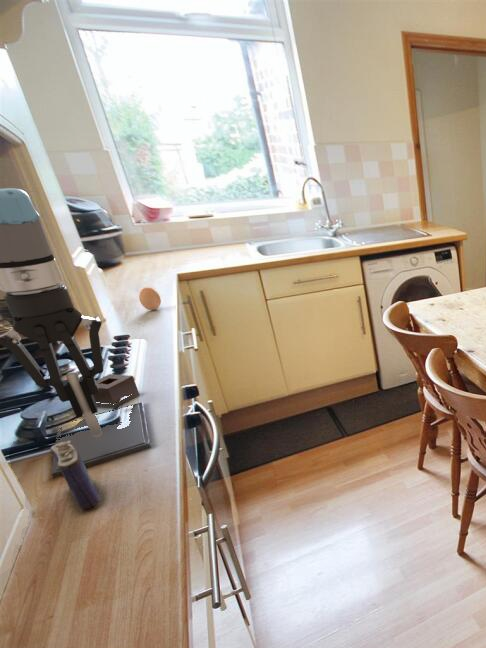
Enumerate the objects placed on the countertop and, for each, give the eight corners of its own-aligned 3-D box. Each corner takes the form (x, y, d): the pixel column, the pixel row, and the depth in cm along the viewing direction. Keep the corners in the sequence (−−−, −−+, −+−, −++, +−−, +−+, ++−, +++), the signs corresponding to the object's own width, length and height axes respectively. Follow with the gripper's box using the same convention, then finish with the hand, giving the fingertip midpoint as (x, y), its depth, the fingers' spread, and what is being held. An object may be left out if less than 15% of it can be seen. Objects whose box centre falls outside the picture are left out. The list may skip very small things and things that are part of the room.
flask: (69, 489, 79) (43, 436, 75) (91, 480, 81) (67, 428, 77) (81, 514, 73) (54, 459, 69) (104, 504, 75) (80, 450, 71)
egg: (147, 308, 165) (139, 285, 161) (166, 306, 166) (158, 284, 163) (140, 313, 160) (132, 290, 156) (160, 311, 161) (152, 288, 158)
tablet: (60, 428, 96) (57, 424, 95) (143, 405, 104) (142, 401, 103) (53, 478, 81) (50, 473, 81) (151, 447, 89) (149, 442, 89)
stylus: (91, 438, 87) (62, 374, 81) (98, 433, 89) (70, 369, 82) (98, 439, 87) (69, 374, 81) (105, 434, 88) (78, 370, 82)
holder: (91, 406, 103) (83, 386, 101) (117, 392, 109) (109, 374, 107) (115, 408, 103) (107, 388, 101) (139, 394, 108) (132, 375, 106)
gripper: (-35, 303, 69) (31, 436, 78) (92, 285, 77) (137, 407, 87) (-26, 291, 74) (35, 417, 83) (92, 276, 83) (135, 391, 92)
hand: (87, 411), depth 85 cm, fingers closed on stylus, 1 cm apart
